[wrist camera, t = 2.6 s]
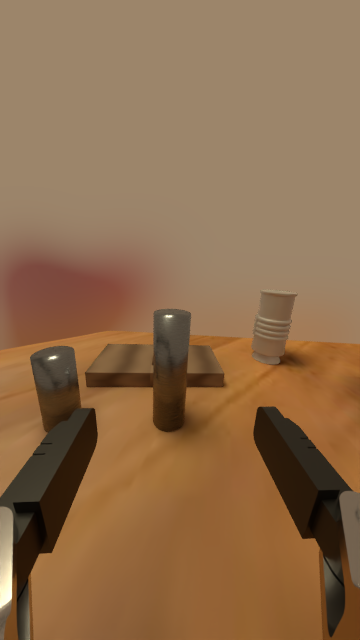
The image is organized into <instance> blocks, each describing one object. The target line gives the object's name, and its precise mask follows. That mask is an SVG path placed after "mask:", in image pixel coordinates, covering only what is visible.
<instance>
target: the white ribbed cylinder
mask: <svg viewBox="0 0 360 640" xmlns="http://www.w3.org/2000/svg"><path fill="white" fill-rule="evenodd" d="M260 292H261V300H260V305H259V311H258V314H257V315H256V317H255V323H254V329H253V334H254V338H253V341H252V345H251V348H252V349H253V350H254V352H253V354H252V357H253V358H254V359H255V360H257V361H259V362H262V363H266V364H278V363H280V359H279V356H282V355H284V352H285V344H286V340H287V339H288V334H289V329H290V327H291V326H290V324H291V322H292V320H291V319H290V318H291V314H292V309H293V305H294V300H295V297H296V296H297V293H294V292H288V291H280V290H261V291H260Z"/></svg>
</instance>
